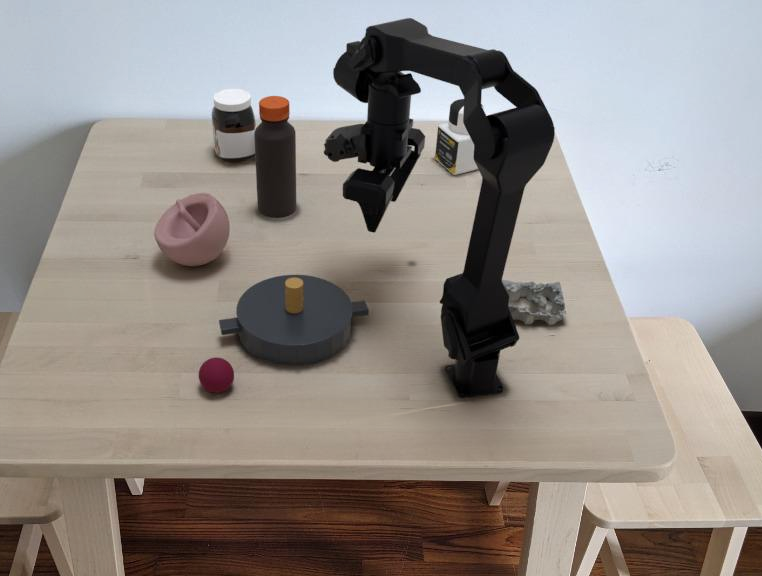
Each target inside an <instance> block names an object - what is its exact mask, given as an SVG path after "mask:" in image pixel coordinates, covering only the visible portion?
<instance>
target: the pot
mask: <svg viewBox="0 0 762 576" xmlns="http://www.w3.org/2000/svg"><path fill="white" fill-rule="evenodd" d="M351 303H352V307H353V313H352V318H356V317H363V316H369V314H370V309H369V307H368V305H367V303H366V300H358V301H351ZM218 324H219V325H218V326H219V329H220V333H221V334H220V335H221V336H225V335H234V334H238V336H239V340H240V344H241V346H243V347H244V349H245V350H246V352H248V353H249V354H250V355H252V356H253V357H254V358H256V359H260V360H262V361H265V362H269V363H272V364H276V365H280V366H294V367H296V366H297V367H298V366H306V365H312V364H313V365H314V364H317V363H320V362H322V361H326V360H328V359H330V358H332V357H334V356H335V355H336V354H338V353H339V352H340V351H342V350H343V349H344V348H345V346H346V344H347V343H348V342H349V340H350V339H351V330H352V329H351V328H352V320H351V321H350V323H349V325H348V326H347V328H346V329H345V330H344V331H343V332H342V333H341V334H339V335H338V336H336V337H335V338H333V339H331V340H329V341H327V342H324V343H322V344H318V345H314V346H309V347H301V348H287V347H279V346H274V345H270V344H266V343H264V342H261V341H259V340H257V339H255V338H253V337H252V336H250V335H249V334H248V333H247V332H245V331H244V329H243V328H242V327H241V325H240V324H239V322H238V319H237V317H231V318H224V319H223V318H222V319H219V320H218Z"/></svg>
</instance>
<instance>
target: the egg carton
mask: <svg viewBox="0 0 762 576" xmlns="http://www.w3.org/2000/svg"><path fill="white" fill-rule="evenodd" d="M502 282H503V284H504V286H505V288H506V290H507V291H508V293H509V302H517V301H518V300H519V299H520V298H526V299H527V300H528V301H530V303H529V308H528V307H526V306H525V307H519V306H518V305H516V306H515V305H512V304H510V303H509V305H508V307H509V310H510V312H511V315H512V318H513V321H514V320H519V321H521V322H523V323H524V324H525V325H532V324H533V323H534V322H535V321H543V322H545V323H546V324H547V325H549V326H551V325H552V326H554V325H556V323H557V322H559V321H562V320H563V316H564V315H567V310H566V304H565V303H566V302H565V300H564V294H563V293H564V292H563V291H562V285H561V282H560V281H556V282H549V283H546V284H544V283H542V282H539V283H536V281H535V282H534V281H529V282H528V281H527V282H525V281H519V282H518V281H517V282H516V281H511V280H507V279H502ZM547 299H548V300H549V301H551V302H552V307H551V313H550V312H549V311H548V310H546V308H547V304H548V302H547Z"/></svg>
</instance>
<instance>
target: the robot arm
mask: <svg viewBox="0 0 762 576" xmlns="http://www.w3.org/2000/svg"><path fill="white" fill-rule="evenodd" d="M345 48H346V50H345V52H343V53H342V54H341V55H340V56H339V58H338V59H337V61H336V62H335V65H334V67H333V72H332V75H333V79H334V82H335V84H336V85H337V86H338V87H340V88H341V89H342V90H344V91H345V92H347V93H348V94H349V95H350V96H352V97H353V98H355V99H356V100H358V101H359V102H360V103H363V104H367V116H366V121H365V123H357V124H351V125H345V126H340V127H337V128H335V129H333V130H332V132H331V133H330V134H329V135H328V137H327V138H325V143H324V144H323V145H324V150H323V154H324V155H325V156H326V157H327V159H328V160H330V161H331V162H332V163H336V162H340V160H341V161H342V160H347V159H353V158H357V163H361V164H364V165H365V164H368V163H369V165H370V166H371V167H373V168H372V170H371V169H364V168H360V167H357V168H356V169H355V170H354V171H352V172H351V173H350V174H349V176H347V178H346V180H344V182H343V183H342V197H343V198H344V199H345V200H349V201H351V202H356V203H357V204H358V206H359V208H360V211H361V213H362V216H363V220H364V223H365V226H366V229H367V230H366V231H367V232H370V233H373V234H375V233H376V232H377V230H378V228H379V226H380V224H381V222H382V220H383V219H384V216H385V214H386V211H387V210H388V209H389V208H388V207H389V205H390V203H391V202H392V203H393V202H394V203H396V202H397V200H398V198H399V196H400V195H401V192H402V191H403V188H404V187H405V186H406V183H407V181H408V179H409V177H410V175H411V174H412V172H413V171H414V168H415V167H416V164H417V163H418V161H419V159H420V157H421V155H422V152H423V150H424V149H425V143H426V135H425V134H424V132H423V131H422V130H421V129H420V128H414V119H413V118H410V116H411V102H412V96H415V95H418V94H420V93H421V92H422V87H420V84H419V83H418V82H417V81H416V80H415V78H414V76H413V74H412V73H411V72H413V73H415V74H418V75H422V76H425V77H428V78H432V79H434V80H436V81H437V80H438V81H441V82H444V83H447V84H451V85H453V86H457V87H458V88H459V89H460V92H461V94H462V96H463V99H464V113H463V123H464V126H465V128H466V130H467V132H468V134H469V136H470V138H471V140H472V142H473V144H474V161H475V163H476V165H477V167H478V169H477V170H478V171H479V174H480V176H481V185H480V188H479V195H478V199H477V203H476V208H475V214H474V219H473V223H472V228H471V232H470V238H469V243H468V246H467V247H468V248H467V252H466V257H465V261H464V266H463V271H462V272H461V273H459V274H456V275H452V276H450V277H447V278H446V279H445V281H444V283H443V289H442V296H441V298H440V300H439V304H441V308H440V325H441V331H442V332H441V333H442V342H443V346H444V348H445V349H446V350H447V352H448V355H447V356H448V358H450V359H451V360H454V364H447V365H445V367H444V372H445V374H446V375H447V377H448V379H449V381H450V383H451V385H452V386H453V389H454V391H455V393H456V394H457V396H458V398H460V399H464V398H465V399H466V398H473V397H479V396H486V395H492V394H500V393H503V392H504V390H505V387H504V385H503V383H502V382H501V380H500V377H499V376H498V375H497V372H498V367H499V362H500V356H501V355H500V354H501V351H503V350H505V349H508V348H510V347H511V348H512V347H515V346H516V345H517V343H518V342H519V340H520V334H519V332H518V329H517V326H516V324H515V321H514V320H513V318H512V315H511V312H510V310H509V307H508V305H509V304H510V303H509V302H510V301H509V293H508V291H507V290H506V288H505V286H504V284H503V282H502V280H503V276H504V273H505V268H506V264H507V260H508V256H509V252H510V249H511V244H512V240H513V237H514V236H513V235H514V233H515V228H516V223H517V221H518V220H517V219H518V215H519V213H520V209H521V204H522V200H523V195H524V193H525V188H526V186H527V185H528V183H529V182H530V181H532V179H533V178H534V177H535V175H536V174H537V173H538V172H539V170H541V168H542V167H543V166H544V165H545V163H546V160H547V158H548V156H549V154H550V151H551V149H552V147H553V143H554V140H555V134H556V132H555V131H556V129H555V125H554V121H553V118H552V117H551V114H550V113H549V110H548V108H547V106H546V105H545V103H544V101H543V99H542V97H541V95H540V93H539V91H538V90H537V88H536V87H534V85H532V84H531V83H529V82H528V80H526V79H525V78H523V77H522V76H521V75H520V74H519V73H518V72H517V71H515V70H514V68H513V67H512V65H511V63H510V61H509V59H508V57H507V56H506V54H505V53H504V52H503V51H502V50H497V49H493V48H492V49H485V48H481V47H477V46H474V45H471V44H470V45H469V44H467V43H466V44H465V43H463V42H457V41H454V40H450V39H445V38H443V37H438V36H435V35H432V34H430V33H429V30H428V27H427V26H426V25H424V24H423V23H421V22H419V21H418V20H416V19H414V18H412V17H406V18H402V19H397V20H392V21H388V22H383V23H378V24H373V25H369V26H367V27H366V29H365V34H364V37H362V38H361V40H356V41H352V42H347V43H346V46H345ZM403 72H407V73H403ZM491 88H493V89H494V90H495V91H496V92H497V93H498V94H500V95H501V96H502V97H503V98H504V99H506V100H507V101H508V102H509V103H510V104H512V105H513V106H514V107H513V108H510V109H506V110H502V111H498V112H494V113H492V114H486V112H485V109H484V110H483V108H482V106H481V104H482V91H483V90H486V89H491Z"/></svg>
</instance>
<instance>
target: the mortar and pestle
mask: <svg viewBox="0 0 762 576" xmlns="http://www.w3.org/2000/svg"><path fill="white" fill-rule="evenodd" d="M230 225H231V224H230V219H229V216H228V213H227V211H226V209H225V207H224V206H223V205H222V203H221V201H219V200H218V199H217V198H216V197H215V196H213V195H212V194H210V193H207V192H197V193H193V194H190V195H188V196H185V197H183V198H181V199H180V198H178V199H175V203H174V204H173V205H170V207H169V208H167V209H166V210H165V211H164V213H163V214H162V215H161V217H160V218H159V219H158V221H157V223H156V225H155V228H154V233H153V236H154V239H155V242H156V244H157V247H158V248H159V250H160V251H161V252H162V254H164V256H166V257H167V258H168V259H170V260H171V261H172V262H174V263H176V264H179V265H181V266H185V267H186V266H187V267H199V266H202V265H206V264H208V263H211V262H212V261H214V260H215V259H217V258H218V256H220V255H221V254H222V252H223V251H224V249H225V248H226V246H227V244H228V241H229V237H230V230H231V229H230V228H231V226H230Z"/></svg>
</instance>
